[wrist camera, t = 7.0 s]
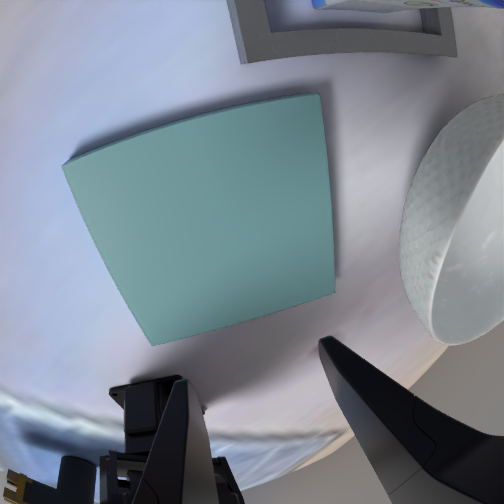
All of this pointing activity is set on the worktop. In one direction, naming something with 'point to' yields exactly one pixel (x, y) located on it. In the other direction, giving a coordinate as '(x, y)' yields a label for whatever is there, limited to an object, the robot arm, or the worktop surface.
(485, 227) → the cereal bowl
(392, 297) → the worktop surface
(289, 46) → the hollow square frame
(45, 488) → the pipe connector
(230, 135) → the board
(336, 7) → the medicine box
